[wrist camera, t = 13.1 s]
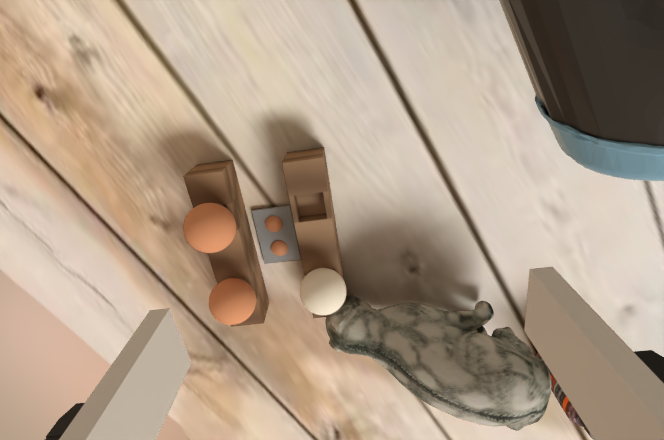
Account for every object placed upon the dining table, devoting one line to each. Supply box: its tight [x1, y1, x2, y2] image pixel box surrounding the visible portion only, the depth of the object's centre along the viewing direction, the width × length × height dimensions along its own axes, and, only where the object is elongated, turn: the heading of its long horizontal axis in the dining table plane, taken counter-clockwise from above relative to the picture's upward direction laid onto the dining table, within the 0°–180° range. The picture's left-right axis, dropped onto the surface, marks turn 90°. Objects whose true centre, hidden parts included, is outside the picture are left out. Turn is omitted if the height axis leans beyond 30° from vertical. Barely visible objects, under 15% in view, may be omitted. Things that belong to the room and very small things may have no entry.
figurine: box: [326, 295, 551, 430], centre depth 42 cm, size 10×19×20 cm
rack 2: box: [282, 148, 346, 318], centre depth 43 cm, size 19×4×4 cm, turn 8°
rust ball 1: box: [183, 203, 236, 253], centre depth 38 cm, size 5×5×5 cm
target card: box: [252, 205, 301, 264], centre depth 45 cm, size 7×4×1 cm, turn 8°
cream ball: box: [300, 268, 346, 315], centre depth 41 cm, size 5×5×5 cm
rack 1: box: [183, 160, 269, 327], centre depth 44 cm, size 19×4×4 cm, turn 8°
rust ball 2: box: [209, 278, 256, 325], centre depth 42 cm, size 5×5×5 cm
